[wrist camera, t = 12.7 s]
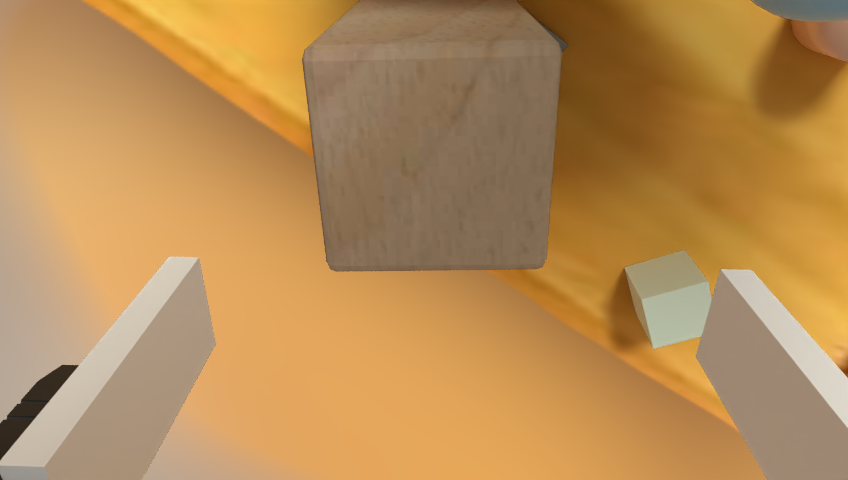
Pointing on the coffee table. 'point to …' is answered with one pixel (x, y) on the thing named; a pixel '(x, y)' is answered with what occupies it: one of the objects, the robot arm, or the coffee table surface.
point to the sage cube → (669, 298)
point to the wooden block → (434, 135)
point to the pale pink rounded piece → (823, 37)
